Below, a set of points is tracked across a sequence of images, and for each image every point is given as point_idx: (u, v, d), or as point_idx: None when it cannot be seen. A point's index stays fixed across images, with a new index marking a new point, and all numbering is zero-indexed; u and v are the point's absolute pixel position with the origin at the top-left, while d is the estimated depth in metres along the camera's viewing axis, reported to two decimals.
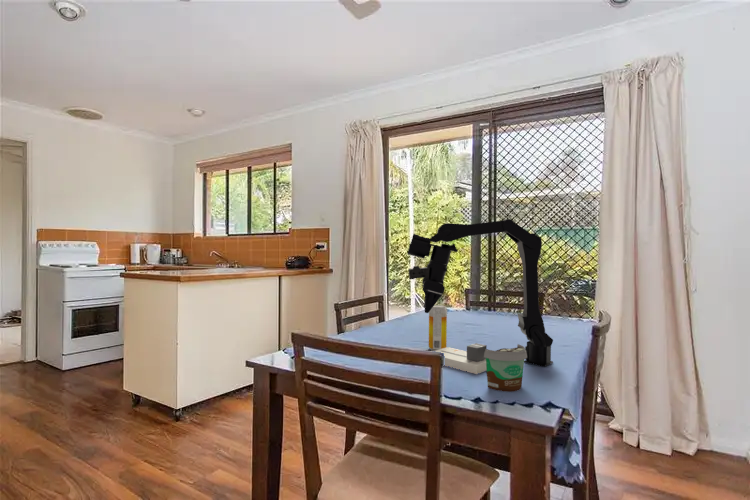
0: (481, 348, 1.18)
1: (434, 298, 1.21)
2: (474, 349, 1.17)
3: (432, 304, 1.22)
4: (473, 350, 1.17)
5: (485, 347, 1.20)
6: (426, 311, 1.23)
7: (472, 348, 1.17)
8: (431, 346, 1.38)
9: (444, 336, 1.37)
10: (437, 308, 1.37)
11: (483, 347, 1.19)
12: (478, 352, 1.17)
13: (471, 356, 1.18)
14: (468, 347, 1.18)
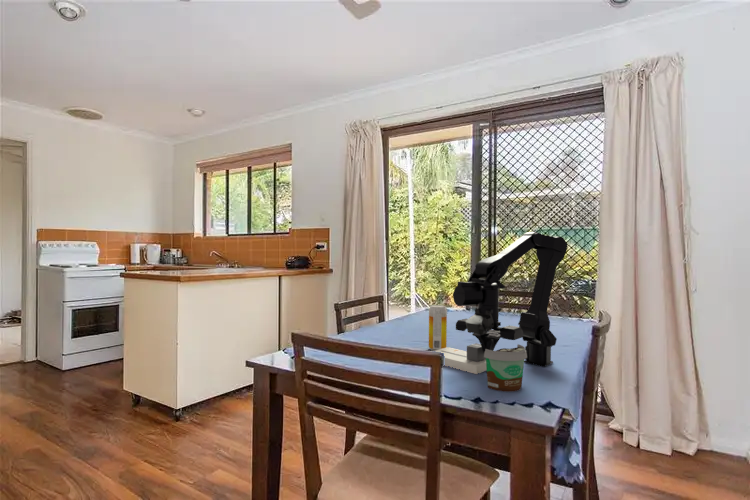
0: (481, 348, 1.18)
1: (495, 341, 1.16)
2: (474, 349, 1.17)
3: (493, 347, 1.16)
4: (473, 350, 1.17)
5: None
6: None
7: (472, 348, 1.18)
8: (431, 346, 1.38)
9: (444, 336, 1.37)
10: (437, 308, 1.37)
11: None
12: (478, 352, 1.17)
13: (471, 356, 1.18)
14: (468, 347, 1.18)
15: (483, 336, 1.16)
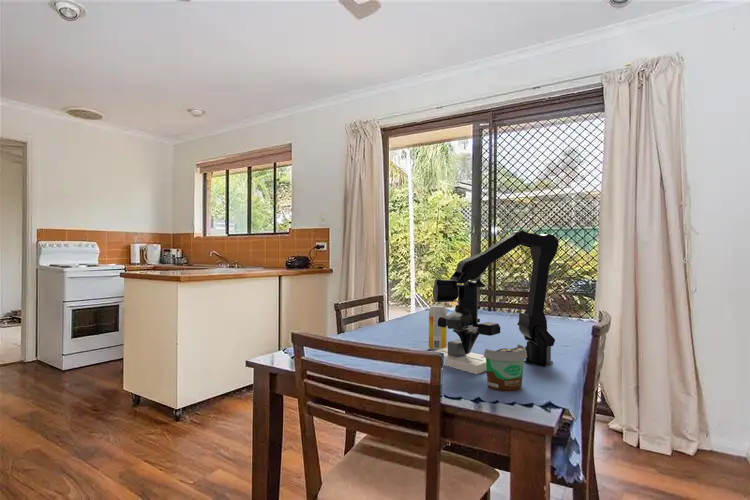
0: (461, 344, 1.23)
1: (474, 337, 1.21)
2: (454, 345, 1.22)
3: (473, 343, 1.21)
4: (454, 346, 1.22)
5: None
6: (468, 352, 1.21)
7: (453, 344, 1.22)
8: (431, 346, 1.38)
9: (444, 336, 1.37)
10: (437, 308, 1.37)
11: None
12: (458, 347, 1.22)
13: (452, 351, 1.23)
14: (449, 343, 1.23)
15: (463, 332, 1.21)
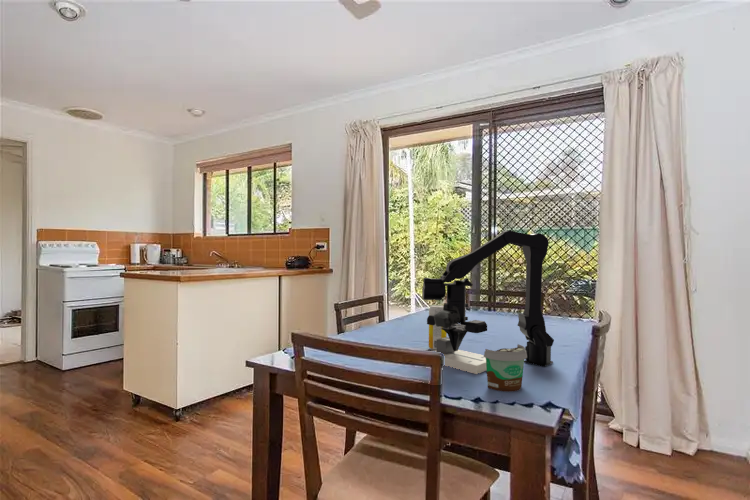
0: None
1: (462, 334, 1.24)
2: (443, 342, 1.25)
3: (461, 341, 1.24)
4: (442, 343, 1.25)
5: None
6: (456, 349, 1.24)
7: (441, 341, 1.25)
8: (431, 346, 1.38)
9: (444, 336, 1.37)
10: (437, 308, 1.37)
11: None
12: (446, 345, 1.25)
13: (440, 349, 1.26)
14: (438, 340, 1.26)
15: (451, 330, 1.24)
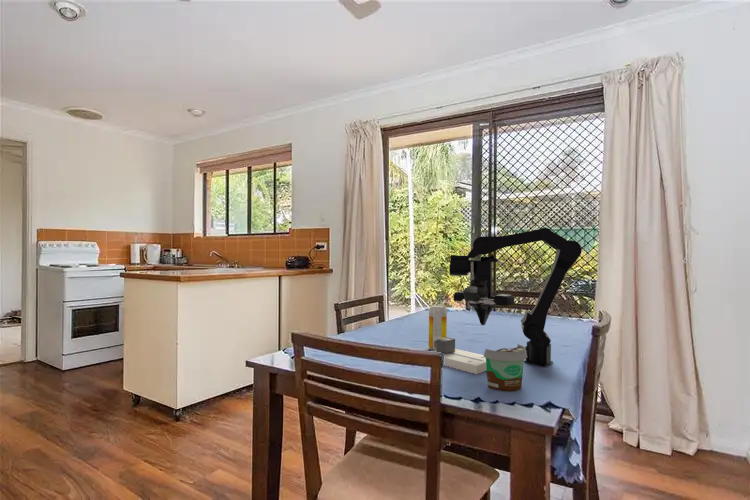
0: (450, 341, 1.26)
1: (489, 309, 1.28)
2: (443, 342, 1.25)
3: (488, 315, 1.29)
4: (442, 343, 1.25)
5: (454, 340, 1.28)
6: (484, 323, 1.28)
7: (441, 341, 1.26)
8: (431, 346, 1.38)
9: (444, 336, 1.37)
10: (437, 308, 1.37)
11: (452, 340, 1.27)
12: (446, 345, 1.25)
13: (440, 349, 1.26)
14: (437, 340, 1.27)
15: (478, 305, 1.28)
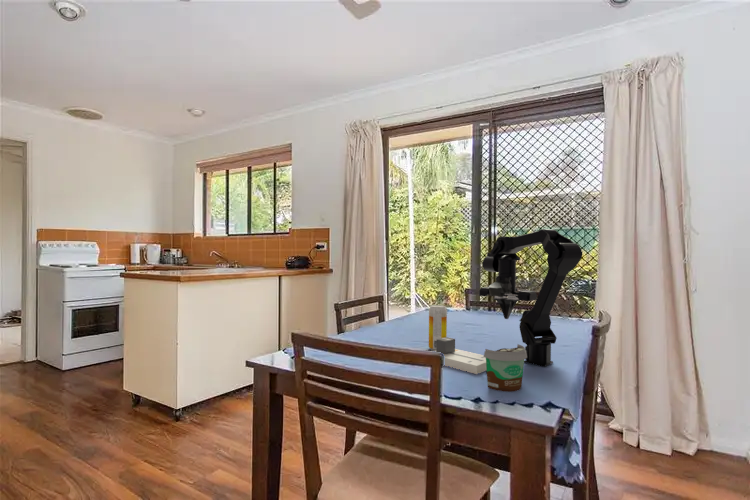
0: (450, 341, 1.26)
1: (512, 304, 1.38)
2: (443, 342, 1.25)
3: (511, 309, 1.38)
4: (442, 343, 1.25)
5: (454, 340, 1.28)
6: (507, 317, 1.38)
7: (441, 341, 1.26)
8: (431, 346, 1.38)
9: (444, 336, 1.37)
10: (437, 308, 1.37)
11: (452, 340, 1.27)
12: (446, 345, 1.25)
13: (440, 349, 1.26)
14: (437, 340, 1.27)
15: (503, 300, 1.38)
